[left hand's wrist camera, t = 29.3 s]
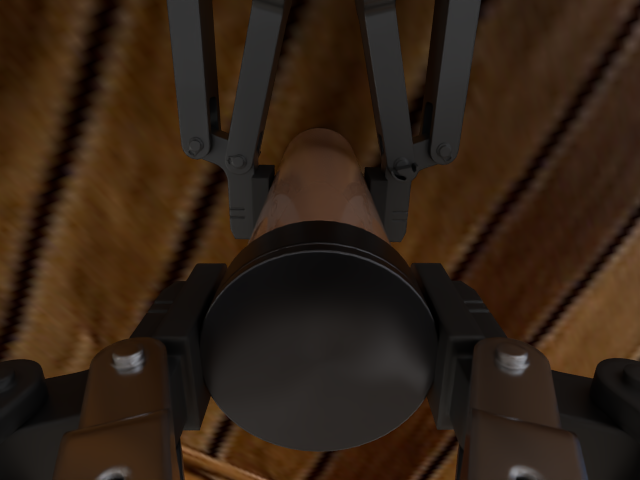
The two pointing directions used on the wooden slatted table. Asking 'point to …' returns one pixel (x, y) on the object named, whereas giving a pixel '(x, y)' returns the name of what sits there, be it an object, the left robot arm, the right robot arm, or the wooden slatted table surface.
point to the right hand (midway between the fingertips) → (316, 294)
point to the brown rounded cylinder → (319, 186)
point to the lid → (318, 338)
